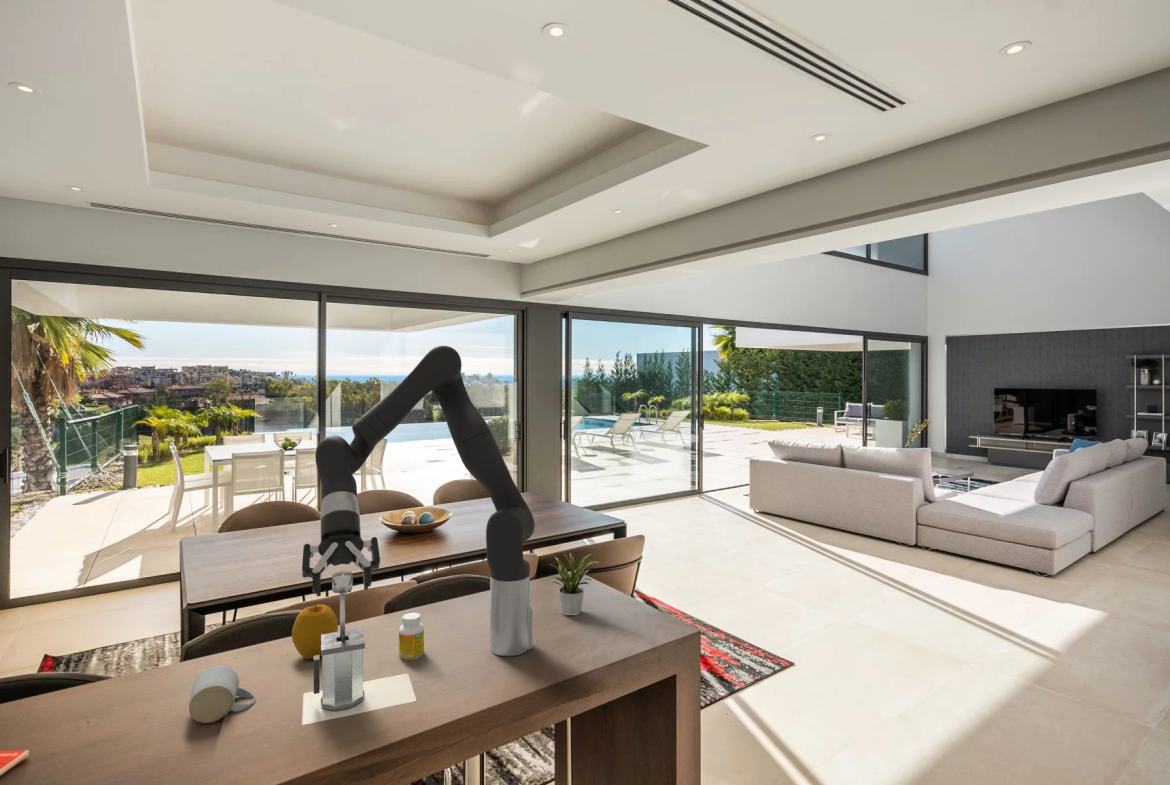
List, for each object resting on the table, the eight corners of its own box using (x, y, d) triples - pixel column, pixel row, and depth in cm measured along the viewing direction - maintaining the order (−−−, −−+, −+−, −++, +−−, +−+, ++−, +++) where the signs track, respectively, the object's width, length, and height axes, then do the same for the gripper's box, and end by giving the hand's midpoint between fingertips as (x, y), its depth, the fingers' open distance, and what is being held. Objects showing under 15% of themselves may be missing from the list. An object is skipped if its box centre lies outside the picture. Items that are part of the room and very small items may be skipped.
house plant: (606, 605, 168) (606, 547, 167) (596, 624, 154) (596, 561, 154) (557, 601, 171) (557, 544, 171) (543, 619, 157) (543, 558, 157)
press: (362, 686, 120) (362, 627, 120) (365, 705, 113) (365, 643, 113) (314, 696, 116) (313, 635, 116) (313, 716, 109) (313, 651, 109)
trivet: (407, 678, 126) (407, 673, 126) (416, 706, 115) (416, 700, 115) (303, 698, 118) (303, 693, 118) (302, 730, 107) (302, 725, 107)
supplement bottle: (416, 665, 132) (416, 621, 132) (394, 662, 133) (394, 619, 133) (428, 654, 137) (427, 612, 137) (406, 652, 138) (406, 610, 138)
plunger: (356, 640, 118) (356, 568, 118) (358, 651, 114) (358, 576, 113) (327, 644, 116) (326, 572, 116) (327, 656, 111) (327, 580, 111)
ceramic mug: (187, 731, 107) (187, 688, 106) (192, 708, 114) (193, 668, 114) (254, 716, 111) (255, 676, 111) (255, 696, 119) (256, 658, 119)
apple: (319, 668, 130) (319, 615, 130) (281, 663, 132) (281, 611, 132) (346, 649, 139) (346, 599, 139) (310, 645, 142) (310, 596, 141)
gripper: (375, 525, 129) (380, 595, 119) (302, 532, 123) (301, 606, 113) (377, 505, 124) (383, 576, 114) (302, 511, 118) (300, 586, 108)
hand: (342, 591), depth 113 cm, fingers open, 8 cm apart
